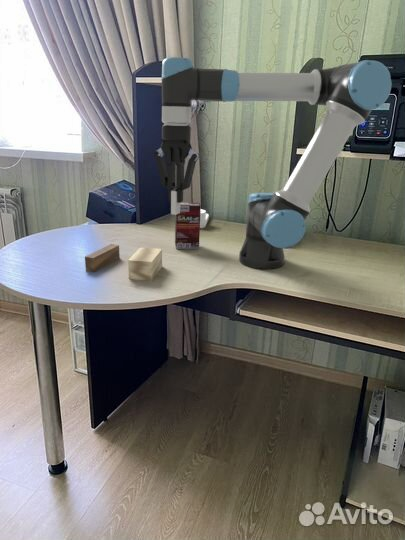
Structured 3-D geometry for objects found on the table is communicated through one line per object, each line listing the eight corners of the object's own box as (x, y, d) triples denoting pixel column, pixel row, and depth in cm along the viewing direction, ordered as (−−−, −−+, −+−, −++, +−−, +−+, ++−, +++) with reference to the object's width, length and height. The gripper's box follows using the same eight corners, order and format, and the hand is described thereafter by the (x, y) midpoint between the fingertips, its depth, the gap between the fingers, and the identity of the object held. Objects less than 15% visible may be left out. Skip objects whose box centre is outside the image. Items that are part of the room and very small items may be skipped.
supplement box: (175, 249, 149) (175, 205, 143) (174, 245, 153) (175, 202, 147) (199, 249, 150) (201, 205, 144) (198, 244, 154) (199, 202, 149)
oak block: (162, 266, 133) (162, 249, 131) (151, 281, 122) (151, 262, 120) (140, 265, 134) (140, 247, 132) (128, 279, 123) (128, 260, 121)
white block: (204, 229, 174) (204, 214, 172) (183, 228, 175) (183, 212, 173) (209, 218, 193) (209, 203, 190) (190, 216, 194) (190, 202, 191)
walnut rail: (119, 258, 139) (119, 245, 137) (94, 272, 126) (93, 258, 125) (111, 256, 140) (111, 243, 138) (85, 270, 128) (84, 256, 126)
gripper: (205, 125, 110) (202, 213, 118) (160, 122, 114) (161, 208, 123) (193, 126, 103) (191, 219, 112) (147, 123, 108) (148, 213, 116)
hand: (175, 213), depth 117 cm, fingers closed
